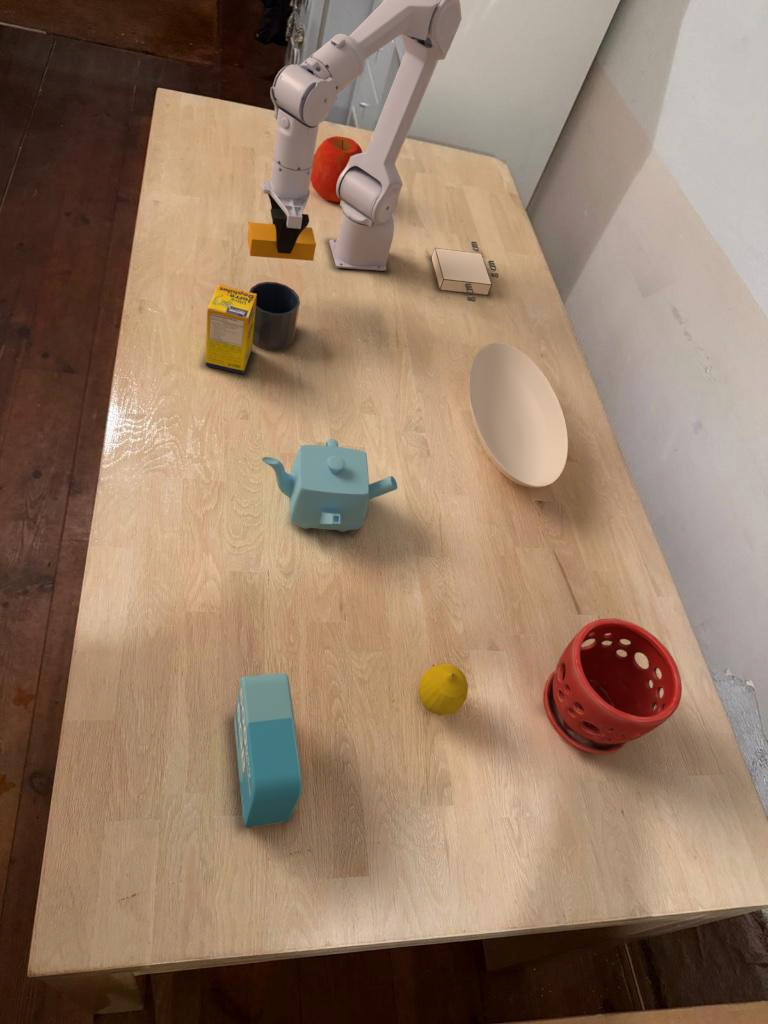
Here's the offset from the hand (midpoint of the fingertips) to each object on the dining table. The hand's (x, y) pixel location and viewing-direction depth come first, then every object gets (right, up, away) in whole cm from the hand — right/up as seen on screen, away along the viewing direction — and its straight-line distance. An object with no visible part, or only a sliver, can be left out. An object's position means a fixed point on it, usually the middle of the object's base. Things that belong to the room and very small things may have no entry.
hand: (282, 242), depth 117 cm
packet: (0, -1, +1) cm, 1 cm away
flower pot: (+41, -67, -25) cm, 82 cm away
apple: (+6, +21, +32) cm, 39 cm away
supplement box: (-8, -19, -3) cm, 21 cm away
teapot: (+8, -43, -17) cm, 47 cm away
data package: (+3, -70, -38) cm, 80 cm away
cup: (-2, -14, +2) cm, 14 cm away
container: (+31, +2, +24) cm, 39 cm away
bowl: (+35, -31, 0) cm, 47 cm away
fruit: (+22, -65, -29) cm, 75 cm away
